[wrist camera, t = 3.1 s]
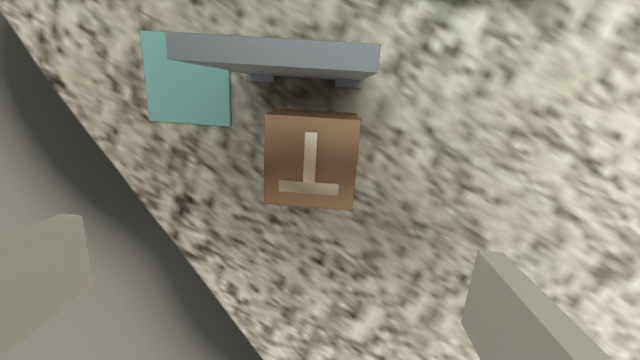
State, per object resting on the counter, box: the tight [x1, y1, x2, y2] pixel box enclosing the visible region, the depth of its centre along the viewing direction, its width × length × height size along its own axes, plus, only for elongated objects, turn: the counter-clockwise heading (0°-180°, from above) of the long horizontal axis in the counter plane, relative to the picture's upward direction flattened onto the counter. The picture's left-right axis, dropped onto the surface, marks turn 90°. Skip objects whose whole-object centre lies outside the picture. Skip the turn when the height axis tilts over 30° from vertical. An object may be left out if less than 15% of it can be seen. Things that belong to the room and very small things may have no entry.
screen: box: [165, 32, 381, 88], centre depth 21 cm, size 2×10×14 cm, turn 86°
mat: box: [140, 31, 231, 127], centre depth 28 cm, size 8×8×1 cm
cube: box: [264, 109, 361, 211], centre depth 26 cm, size 7×7×7 cm
